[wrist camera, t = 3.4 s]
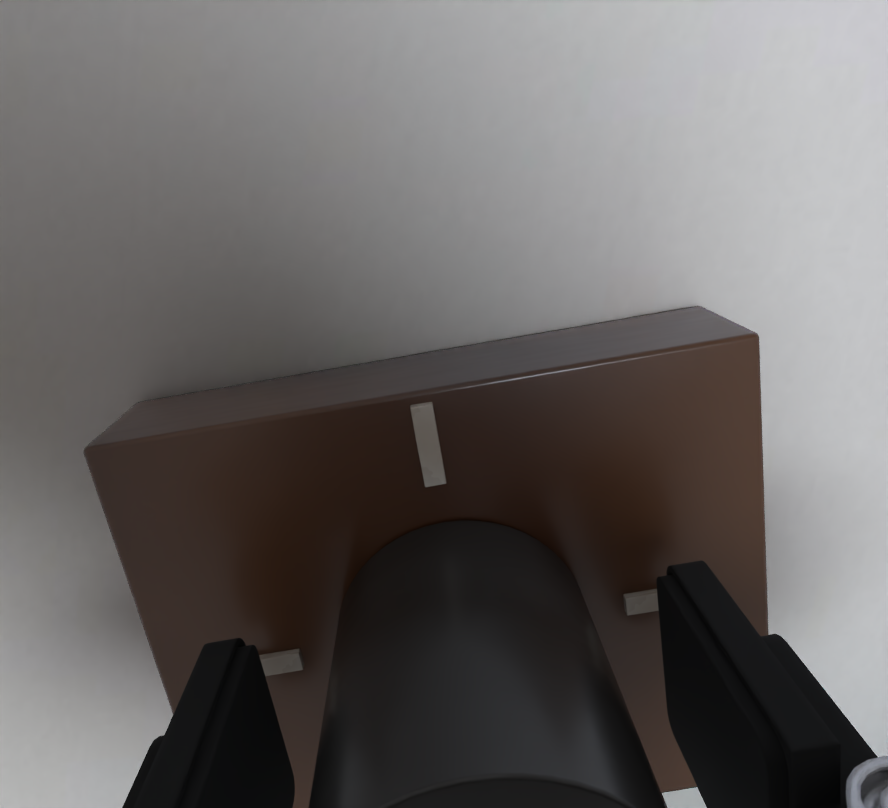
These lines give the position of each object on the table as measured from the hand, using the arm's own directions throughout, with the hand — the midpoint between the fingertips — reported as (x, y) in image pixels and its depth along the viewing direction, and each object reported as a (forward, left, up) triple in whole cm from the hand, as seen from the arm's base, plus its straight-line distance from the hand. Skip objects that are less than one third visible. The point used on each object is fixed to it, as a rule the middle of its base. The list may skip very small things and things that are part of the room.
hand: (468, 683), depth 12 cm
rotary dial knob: (0, 0, -1) cm, 1 cm away
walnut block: (0, 0, -4) cm, 4 cm away
